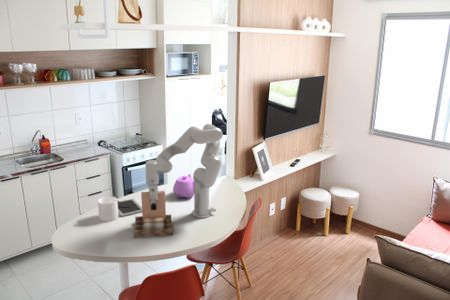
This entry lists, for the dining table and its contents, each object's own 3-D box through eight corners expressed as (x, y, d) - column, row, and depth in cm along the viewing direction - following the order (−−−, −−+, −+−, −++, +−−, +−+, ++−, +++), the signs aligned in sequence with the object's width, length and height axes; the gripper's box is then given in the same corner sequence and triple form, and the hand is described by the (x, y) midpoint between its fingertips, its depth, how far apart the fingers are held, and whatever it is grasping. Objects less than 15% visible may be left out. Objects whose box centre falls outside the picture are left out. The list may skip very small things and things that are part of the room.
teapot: (204, 191, 293) (204, 172, 289) (196, 201, 275) (196, 182, 270) (179, 187, 298) (179, 169, 293) (170, 198, 279) (169, 178, 274)
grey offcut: (164, 231, 234) (163, 222, 233) (163, 235, 231) (163, 225, 229) (143, 232, 233) (143, 223, 231) (143, 235, 229) (142, 226, 228)
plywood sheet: (165, 217, 244) (164, 190, 239) (165, 219, 242) (164, 192, 237) (142, 218, 242) (141, 192, 236) (142, 220, 240) (141, 193, 234)
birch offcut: (163, 226, 240) (163, 217, 239) (163, 229, 237) (163, 220, 235) (143, 227, 238) (143, 218, 236) (143, 230, 234) (143, 221, 233)
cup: (118, 212, 256) (117, 195, 253) (118, 220, 245) (117, 203, 242) (99, 213, 254) (98, 196, 250) (98, 222, 243) (97, 204, 239)
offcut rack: (171, 220, 248) (171, 214, 247) (172, 235, 230) (172, 228, 229) (135, 222, 244) (135, 216, 243) (134, 237, 227) (134, 231, 225)
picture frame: (110, 206, 266) (121, 218, 250) (110, 202, 265) (121, 214, 249) (133, 201, 275) (144, 212, 258) (132, 197, 274) (144, 208, 257)
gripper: (159, 185, 227) (160, 214, 233) (158, 175, 242) (159, 202, 248) (146, 186, 226) (147, 215, 232) (146, 176, 241) (147, 203, 247)
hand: (153, 208), depth 240 cm, fingers closed on plywood sheet, 2 cm apart
